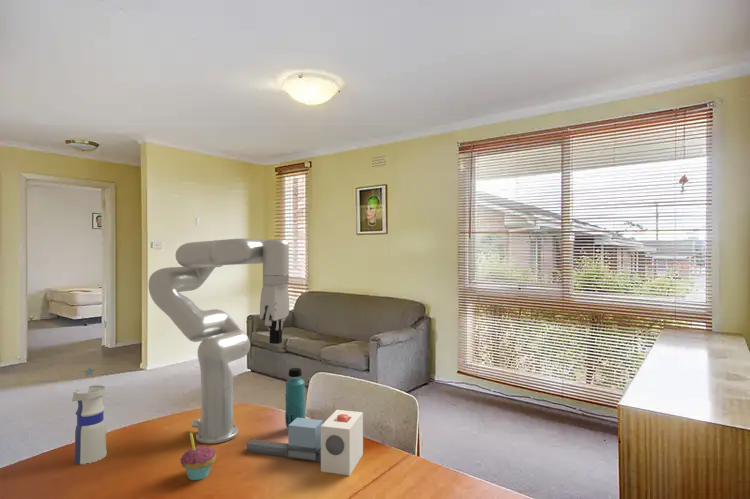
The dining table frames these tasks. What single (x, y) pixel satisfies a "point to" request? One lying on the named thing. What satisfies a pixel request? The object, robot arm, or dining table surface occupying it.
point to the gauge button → (342, 418)
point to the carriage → (304, 438)
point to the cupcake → (198, 460)
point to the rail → (274, 449)
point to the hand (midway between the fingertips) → (275, 342)
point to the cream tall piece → (90, 424)
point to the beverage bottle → (295, 396)
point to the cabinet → (341, 443)
